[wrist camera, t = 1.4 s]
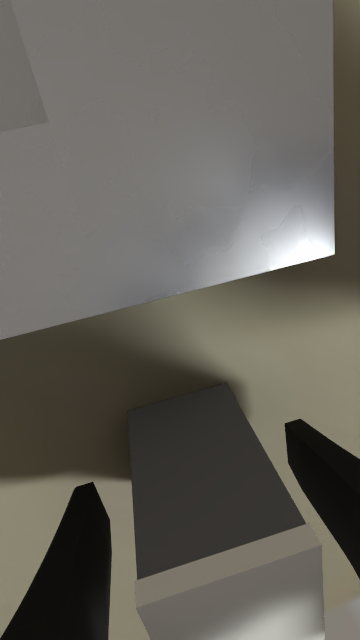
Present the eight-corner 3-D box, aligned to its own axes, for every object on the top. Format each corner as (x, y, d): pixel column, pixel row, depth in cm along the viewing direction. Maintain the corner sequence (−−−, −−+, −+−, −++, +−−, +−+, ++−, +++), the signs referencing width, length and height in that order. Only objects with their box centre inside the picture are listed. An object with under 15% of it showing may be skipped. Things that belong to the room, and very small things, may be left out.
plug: (227, 381, 13) (321, 545, 7) (240, 456, 15) (324, 639, 9) (126, 409, 13) (135, 607, 7) (150, 483, 14) (176, 694, 8)
